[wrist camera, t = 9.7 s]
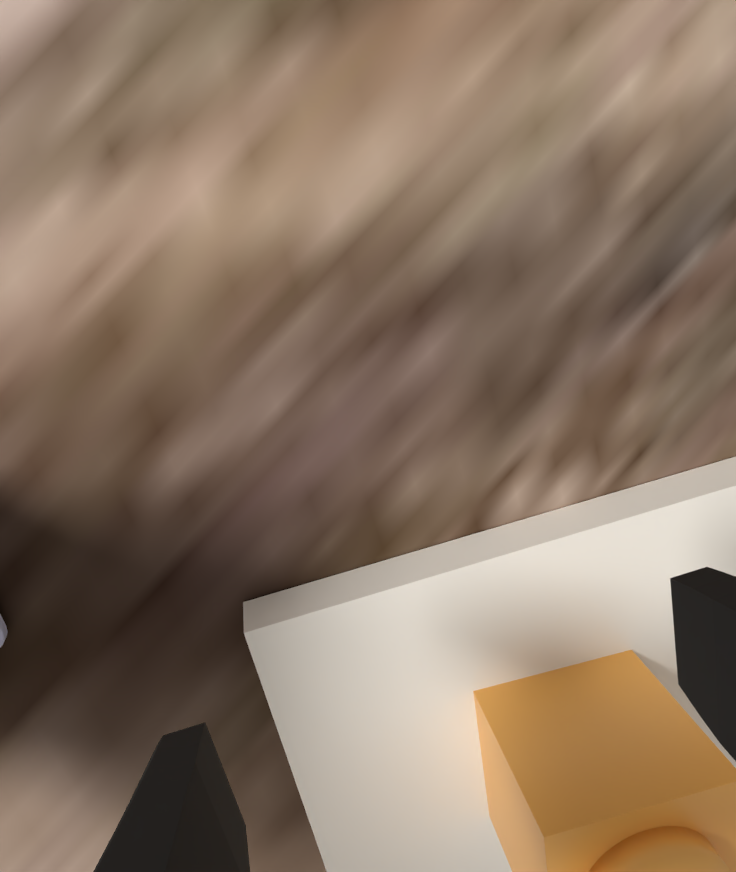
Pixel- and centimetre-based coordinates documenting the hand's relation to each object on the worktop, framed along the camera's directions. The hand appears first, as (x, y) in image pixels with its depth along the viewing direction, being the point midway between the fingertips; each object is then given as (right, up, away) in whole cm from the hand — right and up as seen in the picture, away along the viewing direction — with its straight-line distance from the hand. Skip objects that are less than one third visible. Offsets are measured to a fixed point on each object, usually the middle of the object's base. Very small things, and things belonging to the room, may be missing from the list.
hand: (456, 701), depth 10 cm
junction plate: (+4, -5, +13) cm, 14 cm away
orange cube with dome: (+5, -5, +11) cm, 13 cm away
